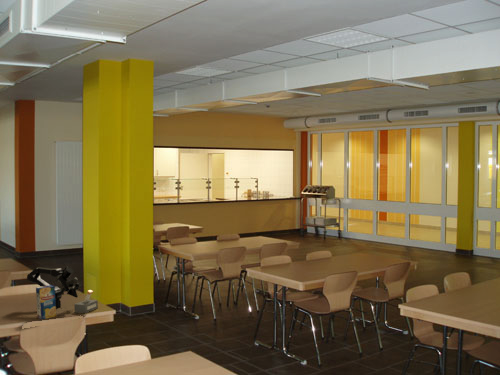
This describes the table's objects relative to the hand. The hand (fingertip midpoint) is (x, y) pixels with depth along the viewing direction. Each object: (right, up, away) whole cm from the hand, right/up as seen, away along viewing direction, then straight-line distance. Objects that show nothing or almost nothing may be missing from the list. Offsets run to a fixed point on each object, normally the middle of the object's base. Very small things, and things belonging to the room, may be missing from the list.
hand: (77, 297), depth 398 cm
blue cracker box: (-16, -11, -18) cm, 26 cm away
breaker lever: (+8, -2, -3) cm, 9 cm away
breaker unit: (+8, -9, -3) cm, 12 cm away
